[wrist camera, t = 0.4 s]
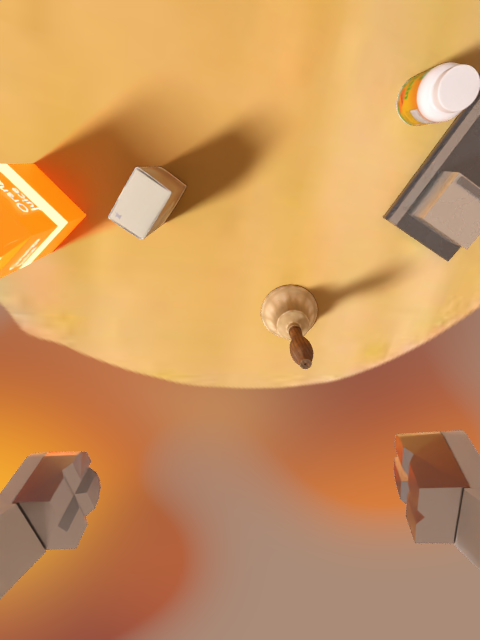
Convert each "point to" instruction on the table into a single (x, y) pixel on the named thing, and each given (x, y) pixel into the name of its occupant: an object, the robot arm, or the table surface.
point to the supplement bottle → (438, 94)
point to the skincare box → (146, 200)
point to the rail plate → (451, 164)
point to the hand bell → (291, 319)
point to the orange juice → (31, 216)
